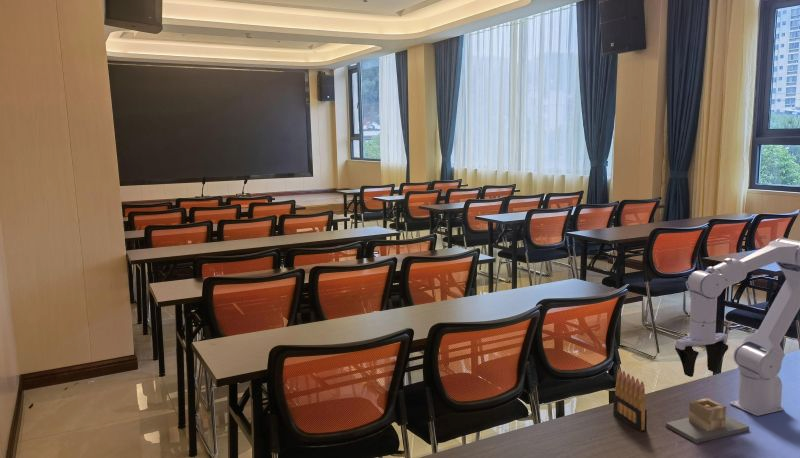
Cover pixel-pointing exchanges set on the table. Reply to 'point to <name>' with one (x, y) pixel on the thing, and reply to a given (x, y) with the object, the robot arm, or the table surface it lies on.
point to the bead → (707, 414)
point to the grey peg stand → (702, 435)
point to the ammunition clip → (630, 401)
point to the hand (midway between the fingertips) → (700, 373)
